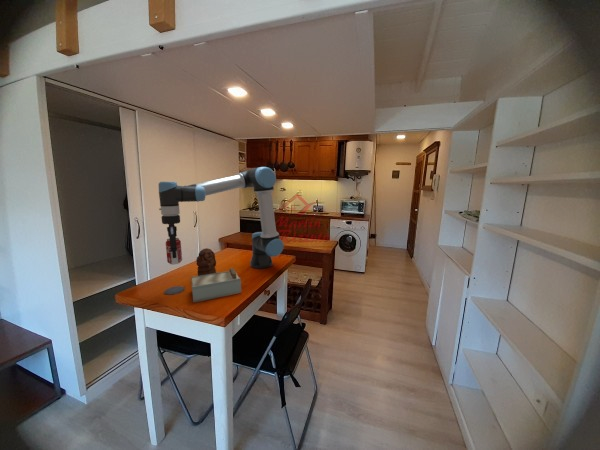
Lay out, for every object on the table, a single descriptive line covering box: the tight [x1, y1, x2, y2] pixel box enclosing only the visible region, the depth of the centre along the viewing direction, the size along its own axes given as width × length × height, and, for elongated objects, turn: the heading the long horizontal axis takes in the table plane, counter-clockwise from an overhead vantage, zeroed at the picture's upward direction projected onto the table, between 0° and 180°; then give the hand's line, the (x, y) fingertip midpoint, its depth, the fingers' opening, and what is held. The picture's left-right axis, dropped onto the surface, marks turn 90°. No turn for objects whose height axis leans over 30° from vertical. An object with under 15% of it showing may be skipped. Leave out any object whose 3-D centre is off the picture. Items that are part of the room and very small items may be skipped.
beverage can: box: [165, 237, 183, 265], centre depth 107 cm, size 6×6×12 cm
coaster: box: [164, 285, 185, 296], centre depth 114 cm, size 9×9×1 cm
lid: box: [191, 267, 240, 287], centre depth 112 cm, size 21×11×3 cm, turn 118°
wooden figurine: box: [195, 247, 217, 276], centre depth 128 cm, size 12×6×18 cm, turn 167°
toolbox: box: [190, 269, 242, 303], centre depth 113 cm, size 22×13×8 cm, turn 118°
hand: (175, 261), depth 108 cm, fingers closed on beverage can, 6 cm apart
